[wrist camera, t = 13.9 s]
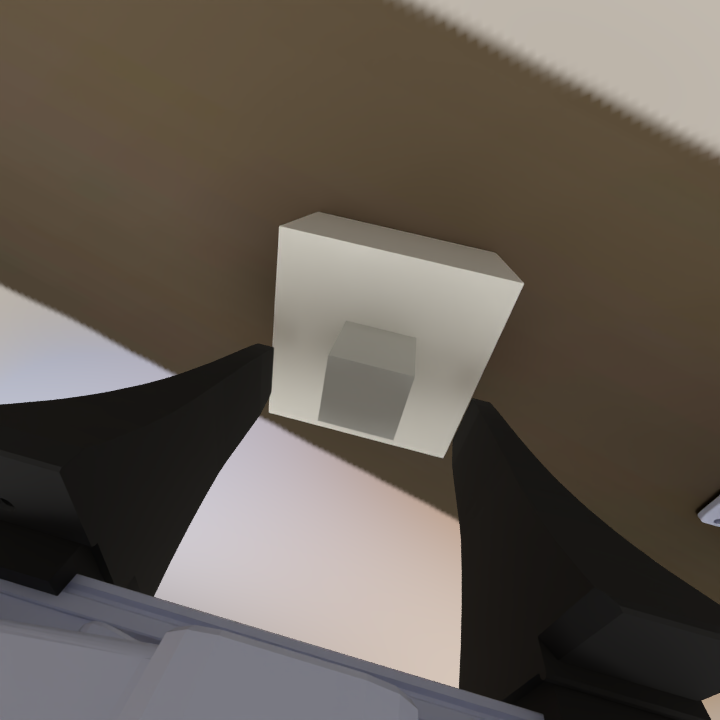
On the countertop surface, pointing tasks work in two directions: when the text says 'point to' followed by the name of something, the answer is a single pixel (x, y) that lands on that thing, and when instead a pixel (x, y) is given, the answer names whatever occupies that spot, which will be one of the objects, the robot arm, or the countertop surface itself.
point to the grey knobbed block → (383, 329)
